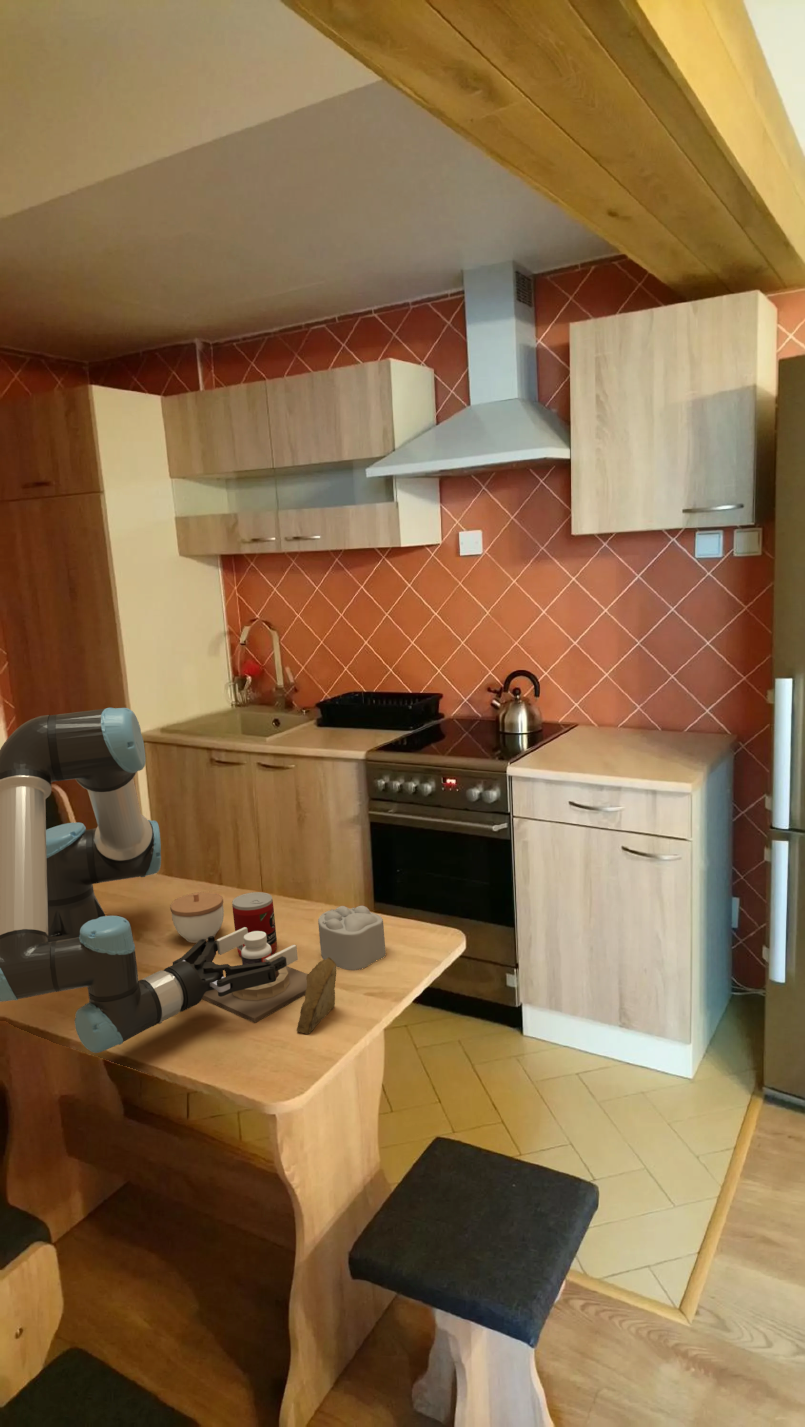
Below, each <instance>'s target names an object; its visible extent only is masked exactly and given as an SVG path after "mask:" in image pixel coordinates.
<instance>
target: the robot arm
mask: <svg viewBox="0 0 805 1427" xmlns="http://www.w3.org/2000/svg"><path fill="white" fill-rule="evenodd" d="M141 730H142V729H141V726H140V723H139V720H138V718H137V716H136V714H135V712H134V711H133V710H132V709H130V708H128V707H118V708H117V707H115V708H114V707H107V708H102V709H92V710H84V711H76V712H68V713H59V714H51V715H50V714H46V715H39V716H36V717H35V718H31V719H29V720H27V721H25V722H24V723H22V724H21V725H20V726H19V727H17V728H16V729H15V730H14V731H13V732H12V733H11V734H10V735H9V736H8V737H7V739H6V740H5V741H4V743H3V744H2V745H1V747H0V1003H1V1002H8V1001H9V1002H11V1001H19V1000H20V999H21V1000H22V999H27V998H31V997H37V996H42V995H47V994H51V993H58V992H63V991H70V990H75V989H76V990H77V989H81V988H87V992H88V993H87V994H88V1001H89V1002H87V1003H85V1004H84V1005H82V1006H81V1007H79V1008H77V1010H76V1012H75V1018H74V1028H75V1032H76V1035H77V1036H78V1039H79V1041H80V1042H81V1044H82V1045H83V1046H84V1048H86V1050H88V1051H90V1052H91V1053H94V1054H98V1053H102V1052H104V1051H107V1050H109V1049H111V1048H113V1047H116V1046H118V1045H122V1044H123V1043H125V1042H126V1041H127V1040H129V1039H131V1038H133V1037H136V1036H137V1035H138V1034H141V1033H143V1032H144V1031H146V1030H149V1029H150V1028H152V1027H154V1026H157V1025H160V1024H162V1023H163V1022H164V1021H166V1020H169V1019H170V1018H172V1017H174V1016H176V1015H178V1014H179V1013H182V1012H185V1011H186V1010H188V1009H190V1008H193V1007H195V1006H196V1005H198V1004H199V1003H200V1002H201V1001H202V997H203V995H204V994H205V992H207V991H210V990H214V989H216V990H217V991H218V996H220V997H222V996H225V995H227V994H229V993H232V992H235V991H239V990H243V989H247V988H251V987H255V986H259V985H263V984H267V983H271V982H275V981H276V974H275V972H276V971H278V970H280V969H282V968H284V967H286V966H289V965H291V964H293V963H295V962H298V960H299V958H298V948H297V945H295V944H292V945H290V946H288V947H286V948H284V949H282V950H279V951H278V952H275V953H274V954H272V956H270V957H268V958H266V959H265V962H260V963H252V964H244V965H242V964H239V965H230V964H229V963H224V964H223V963H222V964H219V963H218V964H216V963H215V962H213V961H214V960H215V957H216V955H217V954H218V955H220V956H221V955H223V954H225V953H228V952H229V951H232V950H234V949H237V947H238V946H241V945H243V944H244V935H246V934H247V933H248V930H247V928H246V927H244V928H242V929H239V930H237V931H235V930H234V931H233V932H230V933H229V934H227V935H224V936H221V937H219V938H218V939H215V937H216V936H215V937H214V936H210V937H208V941H206V939H201V940H199V941H198V942H197V943H194V945H193V946H192V947H191V948H190V949H189V950H188V951H187V952H185V953H184V954H183V955H182V956H181V957H179V958H177V959H176V960H174V961H172V965H170V966H168V967H166V968H164V969H163V970H161V969H160V970H158V971H156V972H154V973H152V974H151V975H148V976H146V977H143V978H142V979H140V980H139V973H138V965H137V955H136V945H135V942H134V937H133V932H132V927H131V923H130V922H129V920H127V918H125V917H123V916H120V915H119V916H118V915H106V914H105V911H104V910H103V908H102V906H101V903H100V901H99V900H98V899H97V897H96V894H95V892H94V891H95V890H94V885H96V884H100V883H107V882H114V881H120V880H127V879H133V878H134V879H135V878H145V877H147V876H152V875H156V874H157V873H159V871H160V869H161V865H162V853H161V852H162V849H161V848H162V847H161V846H162V845H161V841H162V840H161V832H160V831H161V830H160V827H159V826H160V825H159V823H158V821H157V820H150V819H148V818H147V817H145V816H144V815H143V814H142V812H141V808H140V803H139V798H138V794H137V793H138V792H137V789H136V784H135V780H134V778H135V777H136V775H137V773H138V772H141V771H142V770H143V769H144V768H145V766H146V750H145V744H144V743H145V742H144V738H143V734H142V731H141ZM69 780H75V781H76V782H77V784H78V785H80V786H81V788H83V789H84V790H85V789H86V790H87V794H88V796H89V800H90V804H91V807H92V810H93V813H94V817H95V819H96V824H97V827H95V828H91V829H87V828H86V826H85V824H84V823H82V822H79V821H78V822H67V823H62V824H59V825H56V826H53V827H50V828H47V820H46V819H47V818H46V816H47V814H46V812H47V811H46V810H47V809H46V800H47V798H49V797H50V796H51V794H52V783H53V782H61V781H69ZM224 972H225V973H224ZM224 974H225V976H224Z"/></svg>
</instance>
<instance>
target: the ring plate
mask: <svg viewBox="0 0 805 1427" xmlns="http://www.w3.org/2000/svg"><path fill="white" fill-rule="evenodd" d="M275 974H276V981H275V982H271V983H267V984H263V985H259V986H255V987H251V988H247V989H243V990H239V991H235V992H232V993H229V994H227V995H225V996H222V997H220V996H218V991H217V990H216V989H214V990H210V991H207V992H205V994H204V995H203V997H202V999H203V1000H205V1001H206V1002H209V1003H211V1004H213V1005H215V1006H217V1007H219V1008H222V1009H224V1010H226V1011H228V1012H231V1013H232V1014H234V1015H237V1016H239V1017H241V1018H244V1019H246V1020H248V1021H249V1022H252V1023H254V1024H255V1023H258V1022H259V1021H261V1020H263V1019H265V1018H266V1017H268V1016H269V1015H272V1014H273V1013H276V1012H277V1011H279V1010H280V1009H282V1008H284V1007H286V1006H288V1005H289V1004H291V1003H292V1002H294V1001H295V1002H296V1001H297V1000H298V999H300V998H302V997H305V993H306V988H307V980H306V976H307V974H308V973H306V972H304V971H300V970H299V969H295V968H293V967H291V966H289V965H287V966H286V967H284V968H282V969H280V970H278V971H276V972H275Z"/></svg>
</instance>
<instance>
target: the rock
mask: <svg viewBox="0 0 805 1427" xmlns="http://www.w3.org/2000/svg"><path fill="white" fill-rule="evenodd" d="M306 974H307V976H306V980H307V988H306V993H305V995H304V1001H303V1002H302V1006H301V1008H300V1013H299V1014H300V1015H299V1016H300V1017H299V1020H298V1023H297V1028H296V1032H297V1033H298V1032H299V1033H303V1034H304V1035H305V1034H310V1033H311V1032H312V1031H313V1030H314V1029H315V1028H316V1027H317V1025H319V1023H320V1022H321V1021H322V1020H324V1019H325V1017H326V1016H328V1014H329V1012H330V1011H331V1010H332V1009H334V1007H335V1004H336V989H335V988H336V980H337V978H336V977H337V967H336V963H335V962H334V961H333V960H332V959H331V958H330V957H328V958H327V959H326V960H325V959H324V960H323V959H322V960H320V961H319V962H317V964H316V965H315V966H314V967H312V969H311V970H310V971H309V972H308V973H306Z"/></svg>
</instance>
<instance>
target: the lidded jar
mask: <svg viewBox="0 0 805 1427" xmlns="http://www.w3.org/2000/svg"><path fill="white" fill-rule="evenodd" d="M169 906H170V907H169V908H170V909H169V910H170V912H171V913H170V914H171V920H172V923H173V926H174V928H175V931H177V934H179V935H180V936H181V937H182V938H183V939H185V940H186V941H187V942H188V943H193V944H196V943H197V942H198V941H199V940H201V939H206V942H208V937H210V936H214V937H216V935H217V933H218V932H219V930H220V929H221V927H222V925H223V921H224V916H225V914H224V912H225V910H224V897H223V895H222V894H220V893H217V892H213V891H201V892H200V891H199V892H193V893H188V894H185V895H182V896H178V897H177V898H175V899H174V900H173V901H172V902H171V903H170V905H169Z"/></svg>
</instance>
